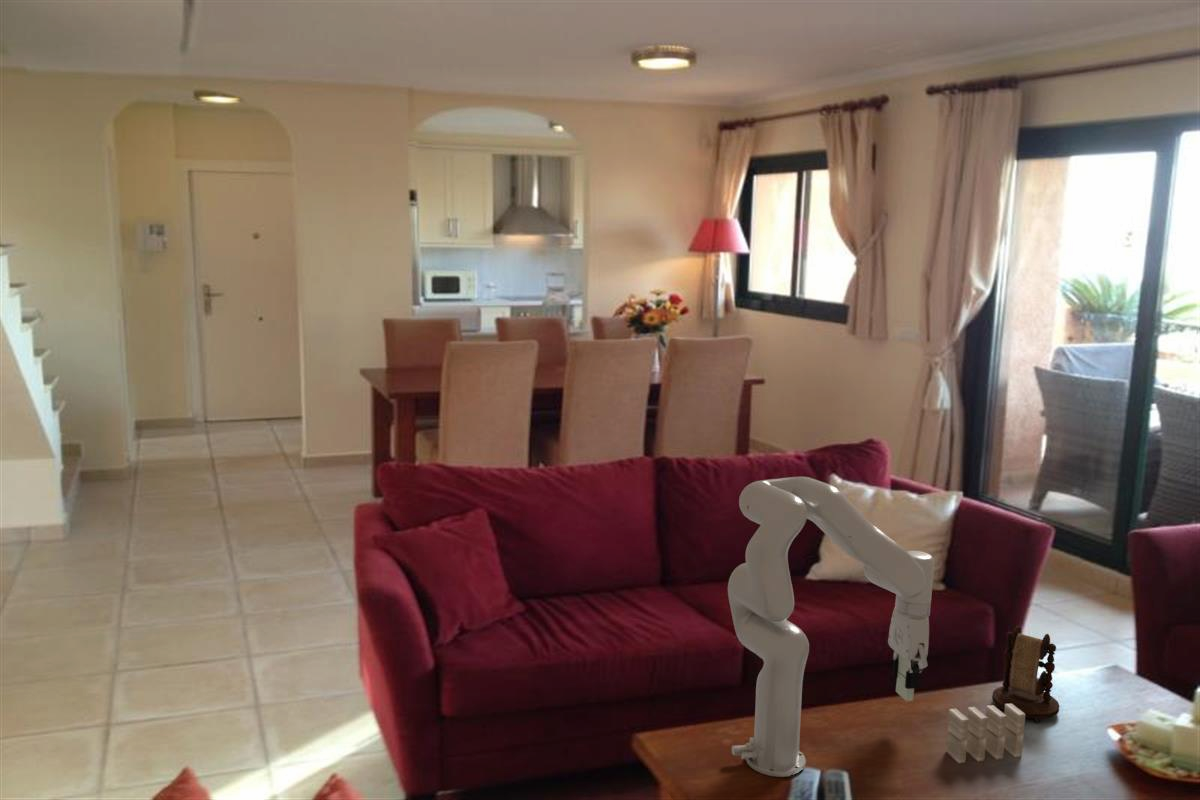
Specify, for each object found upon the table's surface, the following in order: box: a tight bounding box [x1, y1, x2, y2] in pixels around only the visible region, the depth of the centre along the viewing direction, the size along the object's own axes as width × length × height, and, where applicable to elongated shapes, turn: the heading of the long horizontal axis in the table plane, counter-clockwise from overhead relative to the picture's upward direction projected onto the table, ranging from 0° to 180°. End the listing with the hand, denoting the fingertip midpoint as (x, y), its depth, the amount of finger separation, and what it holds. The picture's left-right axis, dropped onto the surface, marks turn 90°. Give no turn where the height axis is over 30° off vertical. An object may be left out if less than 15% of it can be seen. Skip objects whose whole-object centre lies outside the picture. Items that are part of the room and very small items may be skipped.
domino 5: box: [1003, 703, 1026, 758], centre depth 217 cm, size 2×5×10 cm, turn 12°
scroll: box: [991, 625, 1060, 724], centre depth 236 cm, size 15×15×20 cm
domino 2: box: [945, 708, 969, 764], centre depth 214 cm, size 2×5×10 cm, turn 12°
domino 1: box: [895, 655, 917, 702], centre depth 225 cm, size 2×5×10 cm, turn 11°
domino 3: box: [966, 706, 988, 762], centre depth 215 cm, size 2×5×10 cm, turn 12°
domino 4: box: [985, 704, 1007, 761], centre depth 216 cm, size 2×5×10 cm, turn 12°
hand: (905, 681), depth 225 cm, fingers closed on domino 1, 4 cm apart
